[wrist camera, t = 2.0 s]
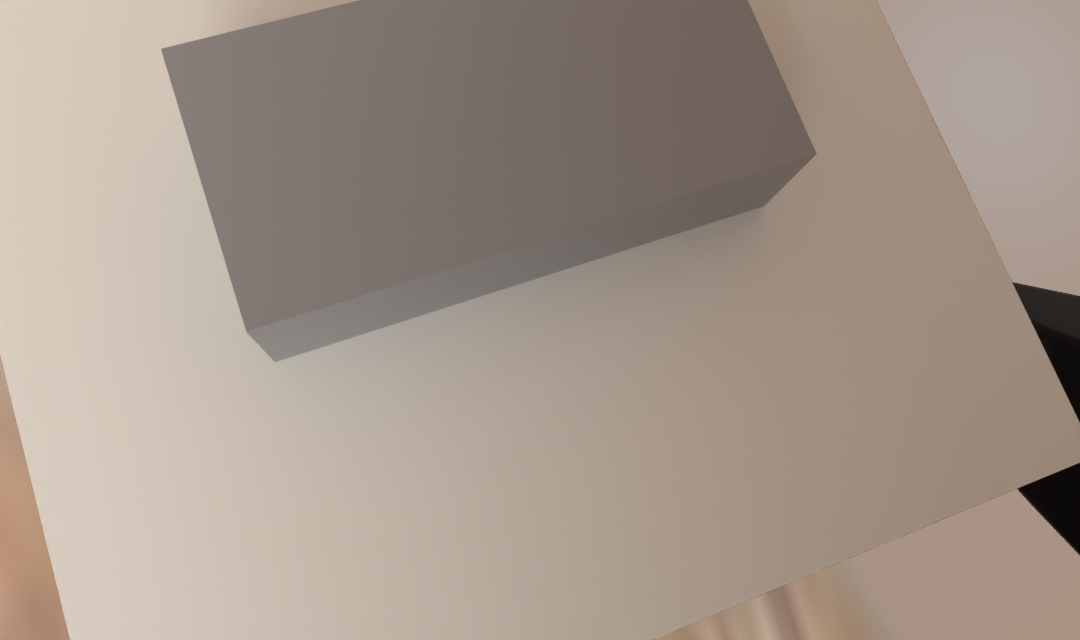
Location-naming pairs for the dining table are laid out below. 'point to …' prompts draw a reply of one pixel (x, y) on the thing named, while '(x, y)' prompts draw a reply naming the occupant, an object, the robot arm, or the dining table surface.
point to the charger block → (489, 312)
